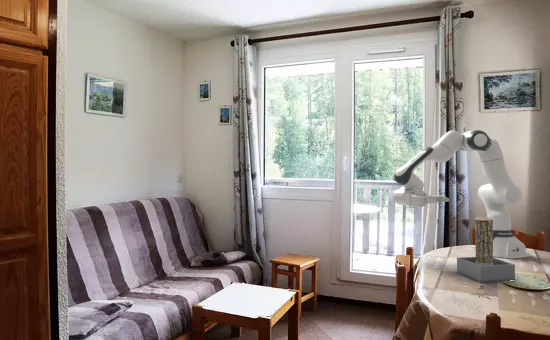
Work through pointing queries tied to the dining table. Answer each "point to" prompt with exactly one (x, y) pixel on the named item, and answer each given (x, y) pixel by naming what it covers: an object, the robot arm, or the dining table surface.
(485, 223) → the wooden log
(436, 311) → the dining table surface
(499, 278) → the box
